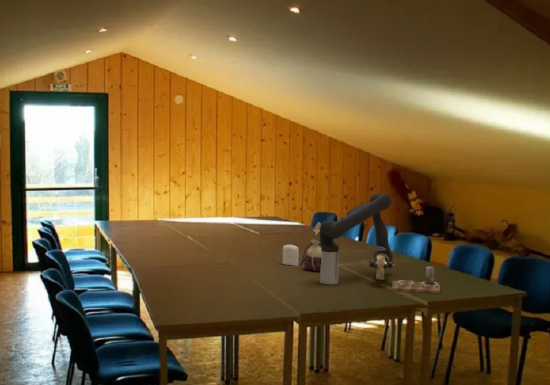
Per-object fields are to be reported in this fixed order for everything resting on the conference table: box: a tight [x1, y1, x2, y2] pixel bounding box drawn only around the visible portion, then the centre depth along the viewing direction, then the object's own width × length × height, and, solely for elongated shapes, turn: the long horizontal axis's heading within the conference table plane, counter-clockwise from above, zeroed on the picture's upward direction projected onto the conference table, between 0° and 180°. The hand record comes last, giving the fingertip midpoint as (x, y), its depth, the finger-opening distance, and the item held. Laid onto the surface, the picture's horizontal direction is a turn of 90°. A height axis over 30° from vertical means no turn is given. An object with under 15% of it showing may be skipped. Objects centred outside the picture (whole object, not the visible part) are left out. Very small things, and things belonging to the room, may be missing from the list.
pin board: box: [391, 266, 441, 295], centre depth 319 cm, size 24×18×12 cm
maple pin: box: [375, 255, 385, 280], centre depth 323 cm, size 4×4×12 cm
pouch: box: [298, 238, 322, 273], centre depth 362 cm, size 25×8×19 cm, turn 52°
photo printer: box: [282, 244, 300, 267], centre depth 380 cm, size 10×4×12 cm, turn 60°
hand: (380, 267), depth 320 cm, fingers closed on maple pin, 4 cm apart
